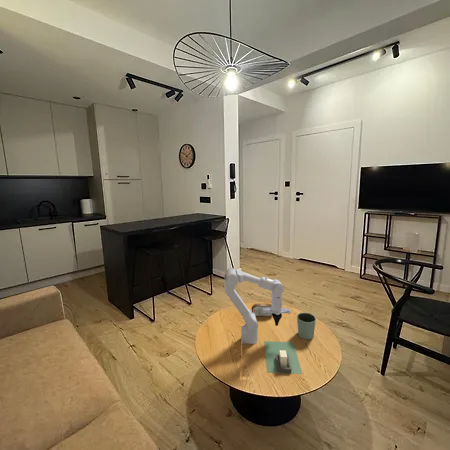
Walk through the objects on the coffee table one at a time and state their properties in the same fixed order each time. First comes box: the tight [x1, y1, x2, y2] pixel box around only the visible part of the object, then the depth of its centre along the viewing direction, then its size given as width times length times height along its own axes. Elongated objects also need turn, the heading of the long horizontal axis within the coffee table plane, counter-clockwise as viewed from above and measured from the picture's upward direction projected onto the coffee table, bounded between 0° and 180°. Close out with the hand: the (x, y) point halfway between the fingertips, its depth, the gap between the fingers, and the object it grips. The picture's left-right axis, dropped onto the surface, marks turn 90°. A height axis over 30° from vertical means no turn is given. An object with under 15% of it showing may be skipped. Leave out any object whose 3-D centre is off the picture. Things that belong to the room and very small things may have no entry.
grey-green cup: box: [296, 312, 317, 340], centre depth 140 cm, size 10×10×12 cm
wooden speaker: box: [250, 303, 273, 317], centre depth 162 cm, size 15×3×8 cm, turn 87°
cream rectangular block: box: [279, 350, 287, 368], centre depth 119 cm, size 3×5×6 cm, turn 175°
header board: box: [263, 340, 303, 375], centre depth 124 cm, size 16×22×3 cm
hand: (276, 324), depth 137 cm, fingers closed
